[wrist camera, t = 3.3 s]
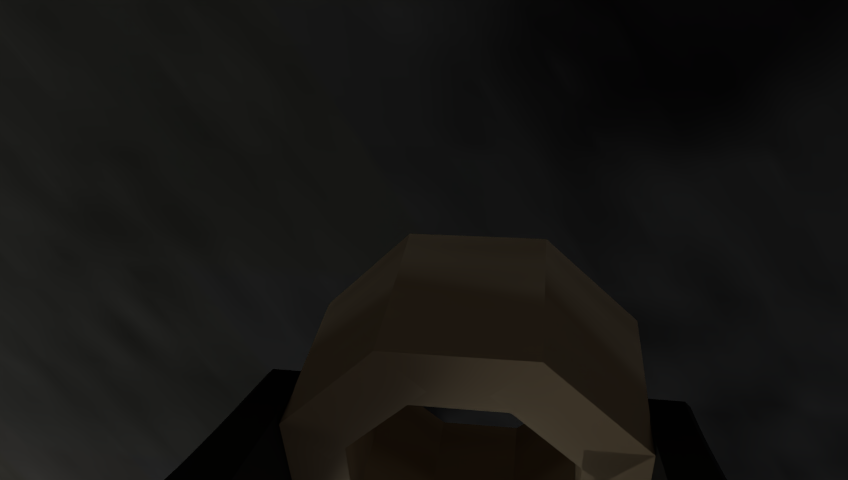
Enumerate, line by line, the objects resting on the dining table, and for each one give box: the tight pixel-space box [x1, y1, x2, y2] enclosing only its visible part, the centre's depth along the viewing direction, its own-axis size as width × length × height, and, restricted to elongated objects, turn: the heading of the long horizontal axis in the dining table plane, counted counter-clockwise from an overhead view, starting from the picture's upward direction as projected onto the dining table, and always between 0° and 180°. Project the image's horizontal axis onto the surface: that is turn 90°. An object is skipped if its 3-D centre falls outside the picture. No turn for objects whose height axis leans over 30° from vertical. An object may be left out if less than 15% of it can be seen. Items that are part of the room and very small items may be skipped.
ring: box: [279, 234, 656, 480], centre depth 13 cm, size 6×6×3 cm
